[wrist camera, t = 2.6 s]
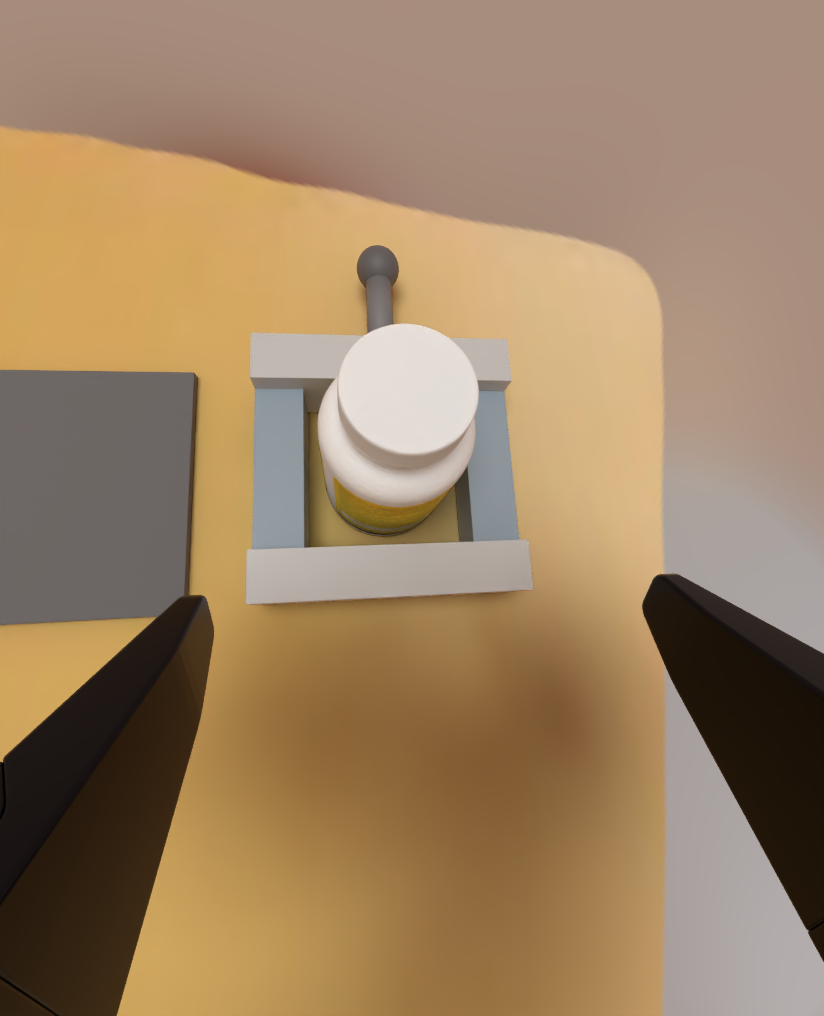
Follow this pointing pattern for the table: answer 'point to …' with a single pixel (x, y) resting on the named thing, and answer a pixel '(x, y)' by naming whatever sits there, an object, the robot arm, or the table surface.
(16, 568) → the pad
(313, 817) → the table surface
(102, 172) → the table surface
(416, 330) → the supplement bottle
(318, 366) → the vise
